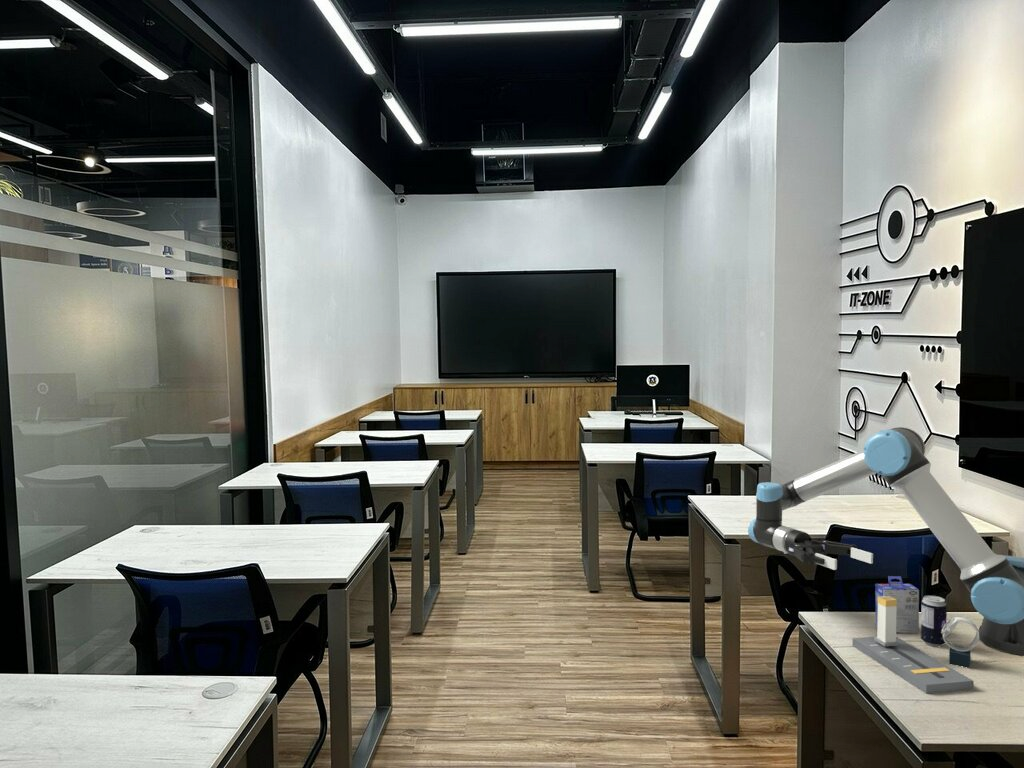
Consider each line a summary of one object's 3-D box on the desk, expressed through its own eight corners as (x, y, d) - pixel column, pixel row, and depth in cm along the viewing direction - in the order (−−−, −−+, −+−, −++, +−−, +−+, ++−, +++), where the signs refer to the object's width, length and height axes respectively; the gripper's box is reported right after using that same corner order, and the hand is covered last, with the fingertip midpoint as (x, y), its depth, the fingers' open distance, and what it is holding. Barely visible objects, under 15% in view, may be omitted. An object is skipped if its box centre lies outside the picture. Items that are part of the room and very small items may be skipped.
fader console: (893, 642, 183) (893, 634, 183) (973, 689, 157) (973, 680, 157) (852, 645, 181) (852, 637, 181) (926, 693, 155) (926, 684, 155)
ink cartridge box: (909, 625, 194) (910, 575, 194) (920, 633, 189) (921, 581, 188) (873, 625, 195) (874, 574, 194) (882, 633, 189) (883, 581, 189)
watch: (940, 654, 176) (941, 611, 175) (979, 661, 171) (980, 618, 171) (939, 662, 171) (940, 618, 171) (978, 670, 167) (980, 625, 166)
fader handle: (888, 639, 179) (888, 595, 179) (898, 645, 175) (899, 600, 175) (874, 640, 179) (874, 595, 178) (884, 646, 175) (885, 601, 174)
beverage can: (944, 649, 178) (945, 604, 178) (919, 644, 182) (920, 599, 181) (946, 642, 183) (947, 597, 183) (922, 637, 186) (923, 593, 186)
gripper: (823, 549, 210) (886, 569, 190) (760, 559, 200) (819, 581, 180) (824, 525, 210) (886, 542, 190) (760, 533, 200) (820, 553, 180)
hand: (854, 561), depth 185 cm, fingers open, 13 cm apart
